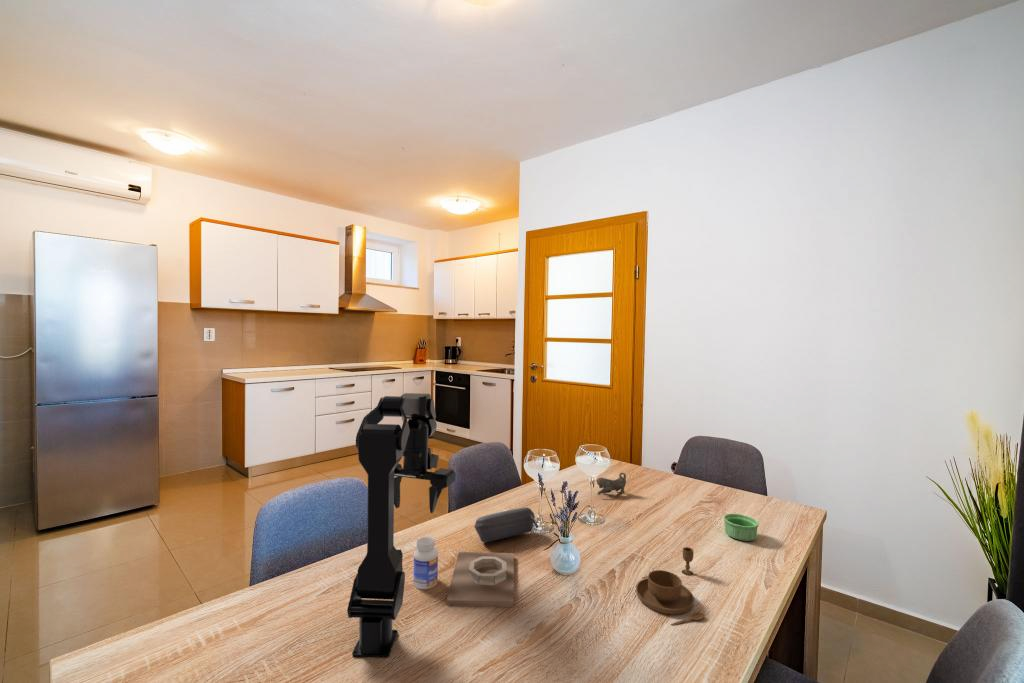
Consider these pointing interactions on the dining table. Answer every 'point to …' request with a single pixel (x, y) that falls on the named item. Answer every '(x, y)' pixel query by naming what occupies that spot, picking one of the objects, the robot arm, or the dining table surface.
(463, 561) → the socket board
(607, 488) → the dog figurine
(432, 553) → the pill bottle
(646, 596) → the place setting
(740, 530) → the ramekin
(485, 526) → the glasses case
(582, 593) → the dining table surface
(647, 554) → the dining table surface
